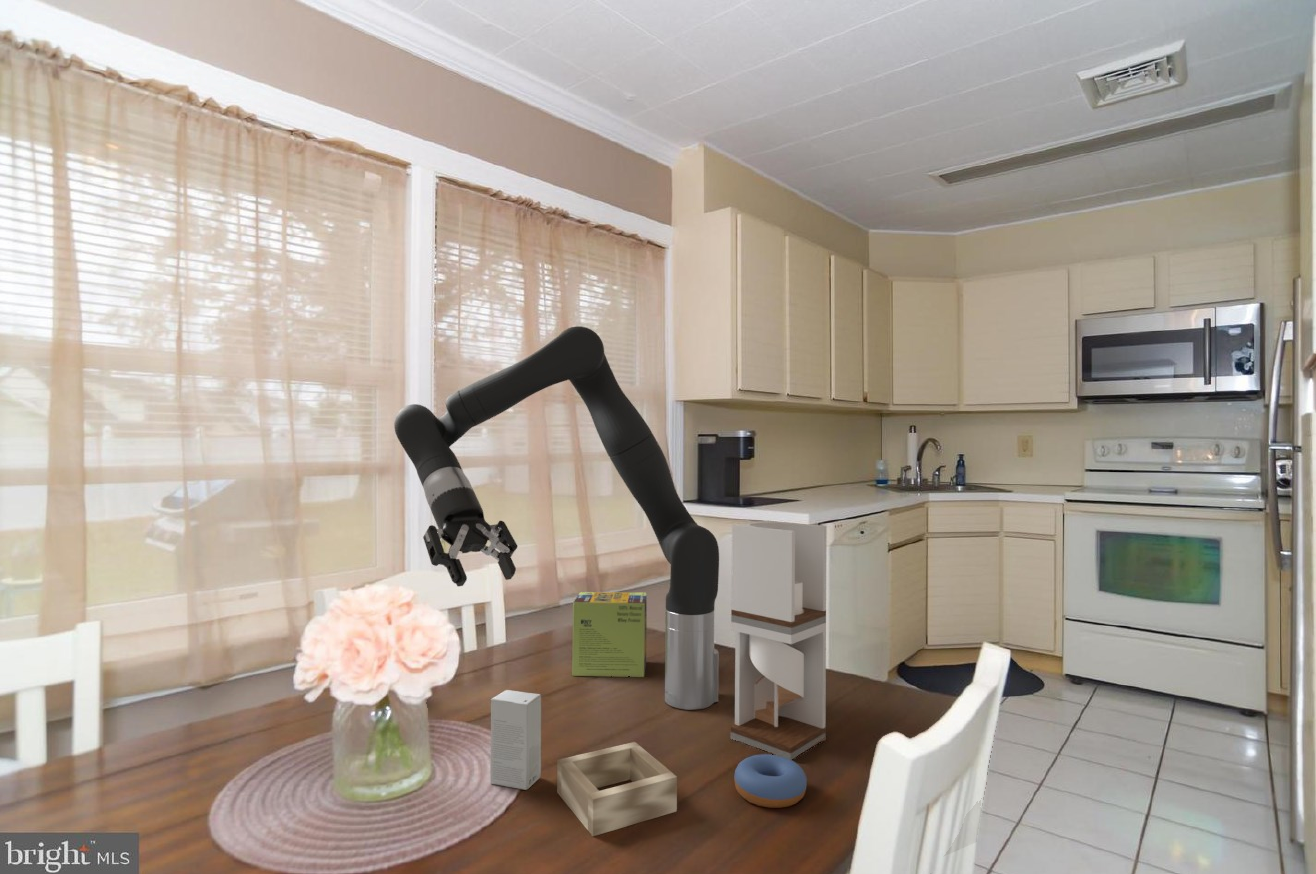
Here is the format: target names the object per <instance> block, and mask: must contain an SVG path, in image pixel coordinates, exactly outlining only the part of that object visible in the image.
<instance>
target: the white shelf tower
mask: <svg viewBox="0 0 1316 874" xmlns="http://www.w3.org/2000/svg"><path fill="white" fill-rule="evenodd" d="M730 602H731V604H730V605H731V606H730V607H731V614H730V615H731V617H730V619H731V622H730V623H731V624H730V627H731V628H730V629H731V631H733V632H734V633H735V635H734V637H735V640H734V642H735V644H734V646H735V647H734V656H735V659H734V660H735V662H734V666H735V667H734V724H733V725H730V740H732V739H733V740H732V741H735V740H736V741H735V742H737V741H741V742H744V743H746V744H748V745H751V746H754V747H757V748H760V749H762V750H765V751H768V752H772V753H774V754H776V755H779V756H782V757H785V758H788V759H790V760H792V759H793V758H794V757H796V756H798V755H799V754H800V753H802V752H804V751H805V750H807V749H808V748H809V747H811V746H812V745H814V744H815V743H816V742H818V741H820V740H821V739H823V738H824V737H825V738H826V724H827V723H826V714H827V712H826V709H827V708H826V706H827V705H826V704H827V703H826V697H827V695H826V693H827V691H826V688H827V687H826V684H827V683H826V682H827V680H826V679H827V678H826V677H827V676H826V675H827V674H826V673H827V525H819V524H807V523H796V522H789V521H788V522H787V521H776V520H775V521H774V520H763V521H761V520H760V521H755V522H754V521H753V522H747V523H739V524H732V525H731V601H730ZM748 745H747V746H748ZM751 746H750V747H751ZM754 747H753V748H754ZM762 750H761V751H762ZM798 757H799V756H798ZM792 761H793V760H792Z"/></svg>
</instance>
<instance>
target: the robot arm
mask: <svg viewBox="0 0 1316 874" xmlns="http://www.w3.org/2000/svg"><path fill="white" fill-rule="evenodd" d="M565 381H569V382H570V383H571V384H572V386H573V388H574V389H575V390H576V392H577V393H578V395H579V397H580V399H582V401H583V403H584V405H585V406H586V408H587V410H588V412H589V414H590V416H591V419H592V421H593V424H594V428H595V430H596V432H597V434H598V436H599V439H600V440H601V443H602V445H603V447H604V450H605V452H606V454H607V455H608V457H609V459H610V461H611V463H612V464H613V466H614V468H615V470H616V472H617V473H618V475H619V476H620V477H621V479H622V481H623V482H624V484H625V486H626V487H627V489H628V490H629V493H630V494H632V497H633V498H634V499H635V501H636V503H638V505H639V506H640V507H641V509H642V511H643V512H644V514H645V516H646V518H647V520H648V521H649V523H650V525H651V528H652V530H653V533H654V534H655V537H656V539H657V542H658V544H659V546H660V548H661V550H662V553H663V556H664V558H665V560H667V562H668V563H669V564H670V577H669V578H670V579H669V590H668V592H667V593H666V595H665V620H664V621H665V622H664V623H665V632H664V633H665V638H664V639H665V644H664V646H665V648H664V658H665V659H664V662H665V663H664V702H665V703H666V704H667V705H669V706H670V707H673V708H676V709H680V710H687V711H688V710H701V709H706V708H709V707H710V706H712V705H713V704H714V703H718V702H719V662H720V660H719V657H720V656H719V651H718V649H716V648H715V604H716V599H717V596H718V592H719V577H720V575H719V574H720V547H719V544H718V541H717V538H716V537H715V535H714V534H713V532H711V530H709V529H708V528H705V527H703V526H702V525H699V524H698V523H697V522H696V521H695V520H694V518H693V517H692V515H691V514H690V513H689V511H688V509H687V508H686V507H685V505H684V503H683V501H682V500H681V498H680V497H679V495H678V493H677V490H676V489H677V488H676V487H675V485H674V484H675V483H674V481H673V477H672V473H671V469H670V467H669V464H668V461H667V459H666V456H665V454H664V452H663V450H662V448H661V446H660V444H659V443H658V441H657V439H656V437H655V435H654V433H653V431H652V430H651V429H650V427H649V425H648V424H647V422H646V420H644V418H643V417H642V415H641V413H640V412H639V411H638V410H637V408H636V406H635V405H634V404H633V403H632V402H631V400H630V399H629V398H628V396H627V395H626V394H625V392H623V390H622V388H621V386H620V384H619V383H618V381H617V379H616V377H615V374H614V372H613V370H612V368H611V366H610V364H609V362H608V359H607V356H606V353H605V347H604V343H603V340H602V339H601V337H600V336H599V335H598V333H596V332H595V331H594V330H593V329H591V328H588V327H585V326H579V325H577V326H571V327H568V328H565V330H563V331H561V333H559V334H558V335H557V336H556V337H554V339H552V340H551V341H550V342H548V343H547V344H545V345H544V346H543V347H541V348H540V349H539V350H537V351H535V352H534V353H532V354H530V355H529V356H527V357H525V358H524V359H521V360H520V361H518V362H516V363H514V364H512V365H510V366H507V367H506V368H504V369H501V370H499V371H496V372H495V373H493V374H490V375H488V376H485V377H484V378H482V379H479V380H477V381H476V382H474V383H471V384H469V385H467V386H465V387H463V388H461V389H459V390H457V391H455V392H453V393H451V394H450V395H448V397H447V398H446V400H445V408H446V412H445V413H444V414H443V415H442V416H440V417H439V418H438V417H437V416H436V414H434V413H433V412H432V411H431V409H429V408H428V407H426V406H424V405H422V404H417V403H416V404H415V403H413V404H409V405H406V406H404V407H402V408H401V409H400V410H399V411H398V412H397V414H396V416H395V418H394V424H393V425H394V432H395V435H396V437H397V440H398V441H399V444H400V445H401V446H402V448H403V450H404V451H405V453H406V455H407V456H408V458H409V459H410V461H411V463H413V466H414V468H415V470H416V472H417V473H416V474H417V476H418V478H419V481H420V483H421V486H422V488H423V490H424V496H425V499H426V502H427V505H428V507H429V509H430V512H431V514H432V516H433V518H434V521H435V523H436V526H437V527H436V526H435V525H432V524H431V525H428V528H427V530H426V531H425V533H424V535H423V536H422V537H423V541H424V544H425V547H426V550H427V553H428V556H429V559H430V563H431V565H432V566H434V567H437V566H439V565H441V566H444V568H446V569H447V571H448V574H449V577H450V579H451V581H452V582H453V584H455V585H456V586H457V587H463V586H464V585H465V583H466V582H467V579H468V577H467V574H466V572H465V570H464V567H463V564H462V563H461V559H460V558H458V555H459V552H461V553H462V554H467V553H470V552H472V553H473V552H474V553H477V552H482V553H483V554H485V555H486V556H491V557H492V558H494V559H495V560H497V564H498V566H499V569H500V571H501V573H502V575H503V577H504V579H505V580H506V581H507V580H512V578H513V577H514V575H515V574H516V570H517V568H516V566H515V564H514V561H513V560H512V559H513V558H512V556H513V554H514V553H515V551H516V550H517V549H518V544H517V542H516V540H515V538H514V537H513V535H512V533H511V532H510V529H509V528H508V526H507V524H506V522H505V521H503V520H499V521H498V522H497V523H496V524H489V522H487V521H486V520H485V515H484V510H483V507H482V505H481V503H480V501H479V499H478V497H477V495H476V493H475V491H474V489H473V487H472V484H471V482H470V480H469V478H468V477H467V475H466V474H465V473H464V471H463V468H462V467H461V464H460V462H459V460H458V458H457V456H456V454H455V452H454V451H453V450H452V449H451V446H452V445H454V444H455V443H456V442H457V441H458V440H459V439H461V438H462V437H463V436H464V435H465V434H466V433H467V432H468V431H470V429H472V428H474V427H476V426H478V425H480V424H483V423H486V421H489V420H491V419H493V418H495V417H496V416H498V415H500V414H503V413H504V412H505V411H508V410H509V409H510V408H512V407H514V406H516V405H517V404H519V403H521V402H522V401H524V400H525V399H527V398H529V397H531V396H532V395H534V394H536V393H538V392H540V391H543V390H545V389H546V388H549V387H551V386H553V385H557V384H560V383H562V382H565ZM441 539H442V540H443V541H444V542H446V543H447V544H448V545H450V546H449V549H448V550H447V552H445V550H444V547H443V543H442V541H441ZM488 541H489V542H490V544H489V546H488V545H487V543H488Z"/></svg>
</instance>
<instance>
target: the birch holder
mask: <svg viewBox="0 0 1316 874" xmlns="http://www.w3.org/2000/svg"><path fill="white" fill-rule="evenodd" d="M556 772H557V775H556V776H557V778H556V779H557V782H556V783H557V785H556V786H557V788H556V790H557V792H556V793H557V795H558V796H560V798H561V799H562V800H563V802H564V803H565V804H566V806H568V808H569V809H570V810H571V811H572V813H573V814H574V815H575V817H576V818H577V819H578V820H579V821H580V822H581V824H582V825H583V826H584V828H585V829H586V830H587V832H589V834H590V835H591V837H595V836H596V837H597V836H599V835H602V834H606V833H608V832H612V831H617V830H619V829H622V828H626V827H630V826H632V825H635V824H639V823H643V822H646V821H649V820H652V819H657V818H659V817H662V816H665V815H669V814H672V813H676V812H677V809H678V776H677V775H675V773H673V772H672V771H671V770H669V769H668V768H667V767H666V766H665V765H664V764H663V763H661V762H660V761H659V760H658V759H656V758H655V757H654V756H653V755H651V754H650V753H649V752H648V751H646V750H645V748H643V747H642V746H640V745H639V744H638V743H637V742H636V741H632V742H629V743H623V744H620V745H616V746H611V747H606V748H602V749H599V750H594V751H590V752H585V753H582V754H576V755H572V756H568V757H563V758H559V759H557V771H556ZM626 781H631V782H628V783H625V784H621V785H617V786H614V787H609V788H606V789H602V790H599V788H604V787H607V786H610V785H614V784H618V783H622V782H626Z"/></svg>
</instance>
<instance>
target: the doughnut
mask: <svg viewBox="0 0 1316 874" xmlns="http://www.w3.org/2000/svg"><path fill="white" fill-rule="evenodd" d="M733 779H734V786H735V790H736V791H737V792H738V794H739V795H740V797H742V798H743V799H744V800H746V801H748V802H749V803H751V804H754V805H756V806H758V807H764V808H769V809H772V808H774V809H775V808H776V809H781V808H787V807H791V806H793V805H796V804H797V803H798V802H799V801H801V800H802V799H803V798H804V797H805V794H806V790H807V786H808V785H807V783H808V779H807V776H806V773H805V771H804V769H803V768H802V767H801V766H800V765H799V764H798V763H797V762H796V761H794V760H790V759H788V758H785V757H782V756H778V755H772V754H770V753H767V754H765V753H763V754H762V753H761V754H754V755H751V756H748V757H746V758H744V759H743V760H741V761H740V762H738V765H737V766H736V768H735V771H734V777H733Z"/></svg>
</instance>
